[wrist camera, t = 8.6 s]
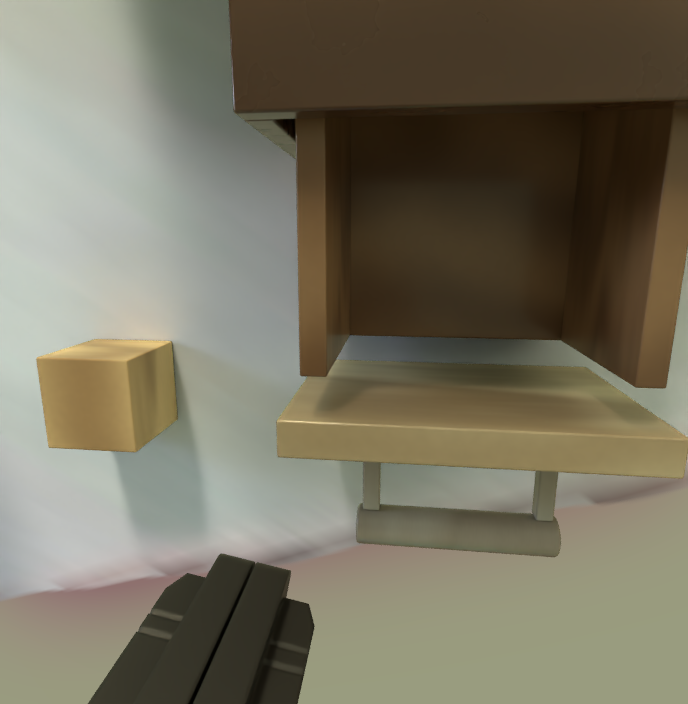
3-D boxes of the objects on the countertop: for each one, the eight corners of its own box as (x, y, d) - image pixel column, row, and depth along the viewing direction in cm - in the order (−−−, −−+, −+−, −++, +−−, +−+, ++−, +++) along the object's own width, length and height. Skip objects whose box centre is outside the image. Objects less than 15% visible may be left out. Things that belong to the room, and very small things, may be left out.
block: (103, 416, 25) (47, 448, 21) (94, 338, 24) (35, 357, 20) (178, 419, 25) (136, 453, 21) (172, 340, 24) (126, 360, 20)
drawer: (572, 490, 22) (660, 620, 14) (320, 475, 23) (280, 588, 16) (623, 41, 18) (782, -103, 10) (316, 54, 19) (260, -66, 12)
